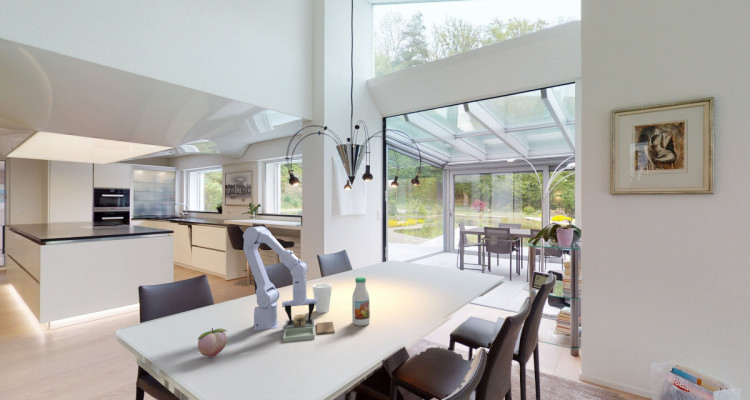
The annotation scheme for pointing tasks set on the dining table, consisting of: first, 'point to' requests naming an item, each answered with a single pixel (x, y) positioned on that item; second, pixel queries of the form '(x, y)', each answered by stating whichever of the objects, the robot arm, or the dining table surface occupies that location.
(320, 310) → the foam cup
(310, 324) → the gray tray
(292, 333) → the sage tray
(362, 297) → the milk bottle
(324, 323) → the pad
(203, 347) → the decorative fruit
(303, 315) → the letter cube
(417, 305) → the dining table surface
